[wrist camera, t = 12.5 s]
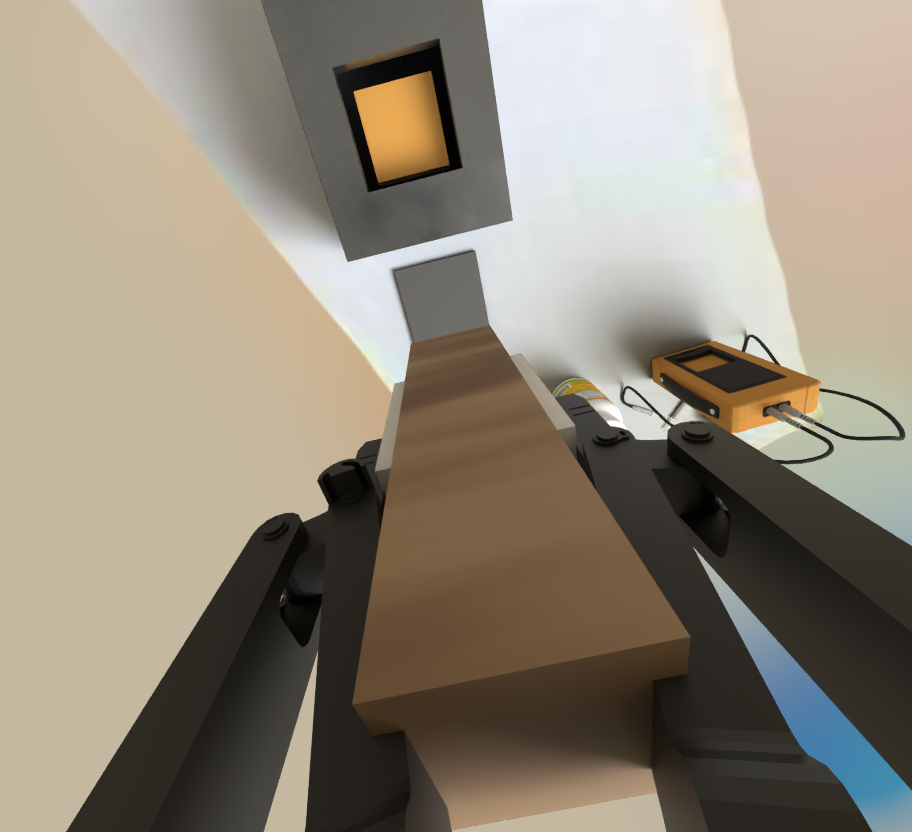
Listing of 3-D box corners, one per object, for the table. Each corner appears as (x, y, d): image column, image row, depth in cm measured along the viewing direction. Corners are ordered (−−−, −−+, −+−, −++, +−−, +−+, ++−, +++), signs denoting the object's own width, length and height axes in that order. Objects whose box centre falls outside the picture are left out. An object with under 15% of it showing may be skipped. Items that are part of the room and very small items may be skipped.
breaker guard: (310, 65, 30) (258, -7, 21) (459, 24, 29) (472, -68, 20) (368, 254, 36) (347, 261, 27) (491, 223, 35) (512, 220, 26)
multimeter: (624, 440, 47) (745, 569, 29) (616, 368, 43) (752, 466, 25) (743, 406, 46) (945, 518, 28) (747, 328, 42) (990, 402, 24)
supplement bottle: (592, 417, 45) (631, 461, 36) (548, 420, 45) (576, 466, 36) (597, 374, 43) (640, 411, 34) (550, 378, 43) (581, 416, 34)
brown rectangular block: (411, 343, 19) (352, 704, 4) (489, 324, 19) (690, 636, 4) (431, 413, 21) (434, 833, 6) (502, 396, 20) (677, 788, 6)
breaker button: (367, 118, 30) (353, 91, 24) (430, 101, 30) (431, 70, 24) (387, 191, 32) (378, 183, 27) (445, 176, 32) (449, 164, 27)
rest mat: (394, 271, 37) (394, 271, 36) (474, 250, 36) (475, 251, 36) (416, 349, 40) (416, 350, 40) (489, 331, 40) (490, 332, 39)
